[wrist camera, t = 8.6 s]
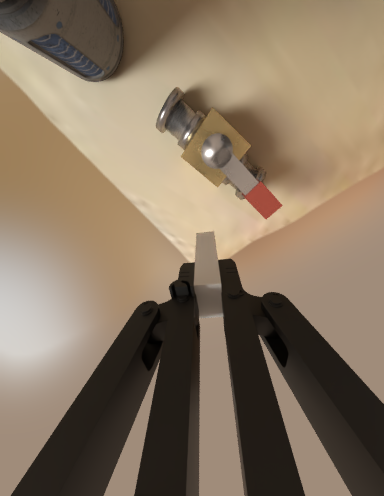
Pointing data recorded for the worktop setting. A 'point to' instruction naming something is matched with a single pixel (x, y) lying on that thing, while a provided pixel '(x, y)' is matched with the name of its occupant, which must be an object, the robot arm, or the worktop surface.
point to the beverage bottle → (68, 33)
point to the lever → (238, 174)
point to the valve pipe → (202, 137)
